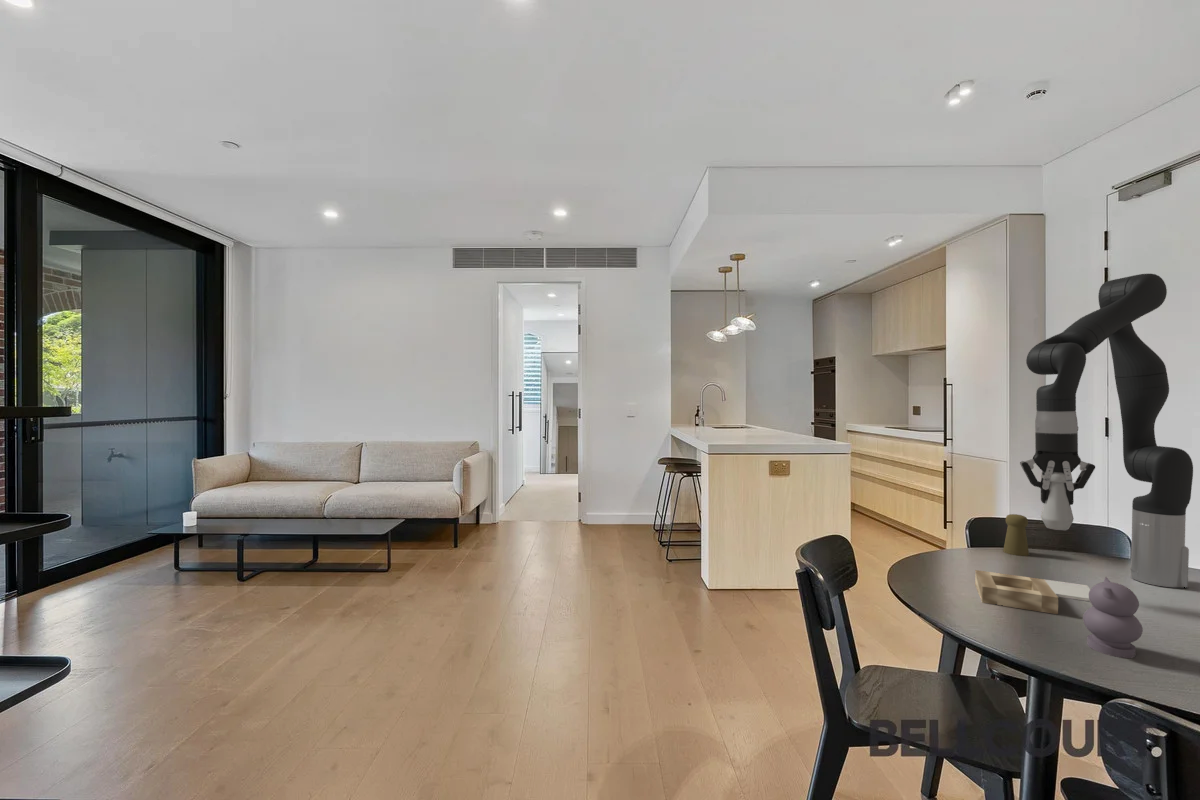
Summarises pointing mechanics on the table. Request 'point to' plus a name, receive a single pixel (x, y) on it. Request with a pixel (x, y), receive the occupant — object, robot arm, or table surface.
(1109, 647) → the stacked rounded figure
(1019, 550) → the cork
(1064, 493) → the salt shaker
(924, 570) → the table surface
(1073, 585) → the grey tile
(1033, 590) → the socket block
